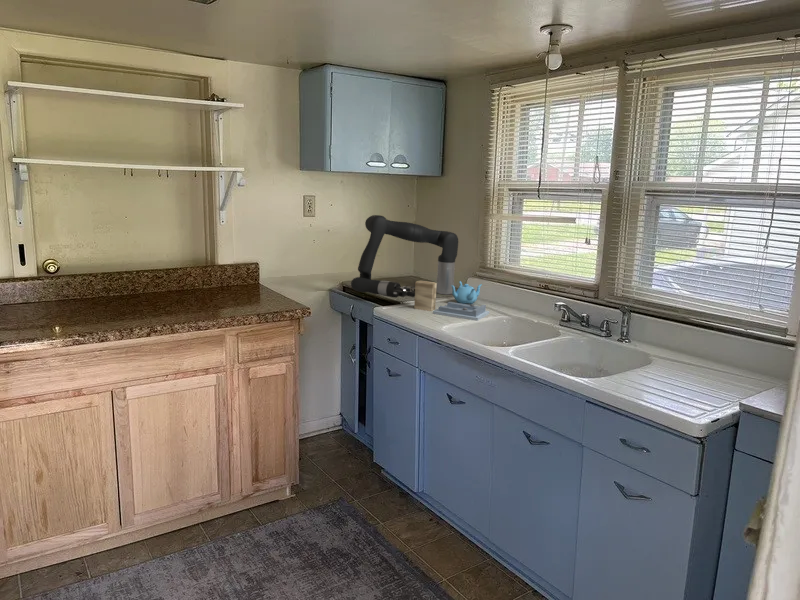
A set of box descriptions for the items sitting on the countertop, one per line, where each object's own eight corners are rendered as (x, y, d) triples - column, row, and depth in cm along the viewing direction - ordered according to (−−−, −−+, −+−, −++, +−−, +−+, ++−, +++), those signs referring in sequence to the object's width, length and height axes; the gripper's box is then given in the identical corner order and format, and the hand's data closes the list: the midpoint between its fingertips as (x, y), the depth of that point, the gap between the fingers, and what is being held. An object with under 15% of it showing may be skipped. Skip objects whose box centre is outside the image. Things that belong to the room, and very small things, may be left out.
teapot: (458, 299, 306) (459, 280, 304) (482, 303, 300) (484, 283, 298) (448, 304, 295) (449, 284, 293) (473, 307, 289) (474, 287, 287)
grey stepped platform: (446, 307, 288) (446, 298, 287) (489, 313, 278) (489, 305, 277) (432, 313, 274) (433, 304, 273) (477, 320, 264) (478, 311, 264)
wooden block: (418, 306, 286) (419, 280, 283) (435, 309, 282) (436, 282, 280) (414, 308, 282) (415, 281, 280) (431, 311, 278) (432, 284, 276)
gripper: (382, 283, 283) (412, 287, 275) (396, 279, 295) (425, 283, 288) (381, 298, 284) (411, 303, 277) (395, 293, 297) (424, 298, 289)
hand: (418, 293), depth 282 cm, fingers open, 8 cm apart
